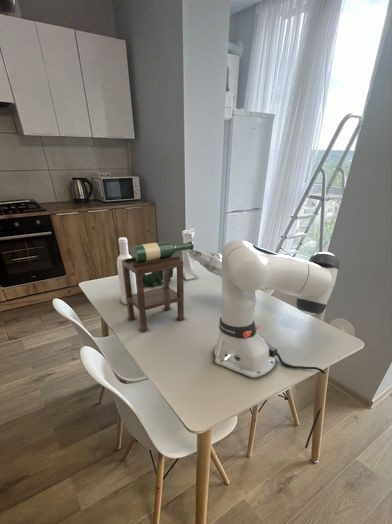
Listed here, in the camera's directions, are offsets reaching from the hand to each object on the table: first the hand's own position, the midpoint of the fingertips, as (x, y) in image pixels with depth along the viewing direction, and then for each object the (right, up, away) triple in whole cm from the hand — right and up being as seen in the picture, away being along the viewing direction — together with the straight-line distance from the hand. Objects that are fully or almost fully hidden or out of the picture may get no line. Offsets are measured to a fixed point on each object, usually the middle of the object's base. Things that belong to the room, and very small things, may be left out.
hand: (194, 252), depth 127 cm
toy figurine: (-21, -5, +39) cm, 45 cm away
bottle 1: (-32, -18, +20) cm, 42 cm away
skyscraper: (-3, 0, +48) cm, 48 cm away
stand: (-17, -28, +5) cm, 33 cm away
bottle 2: (-12, -5, -7) cm, 15 cm away
